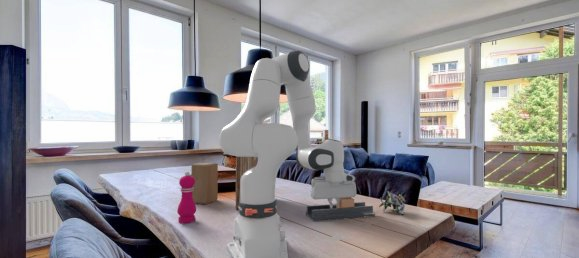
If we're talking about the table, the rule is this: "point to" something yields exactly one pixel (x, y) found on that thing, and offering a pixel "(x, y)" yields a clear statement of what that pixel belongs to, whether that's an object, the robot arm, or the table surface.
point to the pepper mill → (187, 200)
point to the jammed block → (345, 202)
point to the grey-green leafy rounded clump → (394, 202)
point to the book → (241, 167)
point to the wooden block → (205, 182)
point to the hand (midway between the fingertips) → (333, 208)
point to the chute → (338, 212)
